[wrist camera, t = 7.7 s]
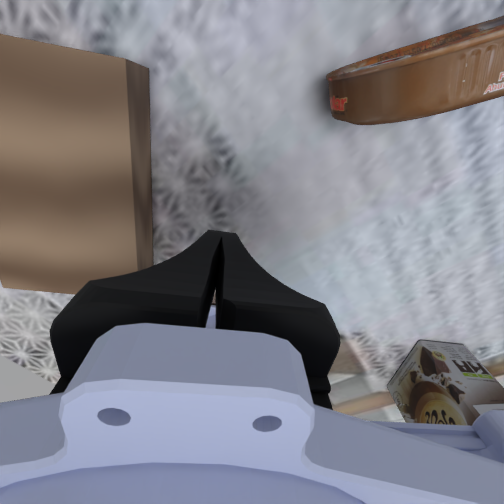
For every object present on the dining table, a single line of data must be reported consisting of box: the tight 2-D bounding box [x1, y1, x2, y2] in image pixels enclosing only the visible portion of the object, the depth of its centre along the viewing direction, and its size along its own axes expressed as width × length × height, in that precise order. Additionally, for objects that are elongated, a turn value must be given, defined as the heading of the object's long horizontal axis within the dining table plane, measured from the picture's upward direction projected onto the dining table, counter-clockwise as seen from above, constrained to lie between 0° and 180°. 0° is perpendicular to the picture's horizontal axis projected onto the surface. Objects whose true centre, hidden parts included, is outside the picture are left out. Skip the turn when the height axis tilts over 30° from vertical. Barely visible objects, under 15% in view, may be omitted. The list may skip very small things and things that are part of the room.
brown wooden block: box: [0, 34, 153, 294], centre depth 18 cm, size 16×10×4 cm, turn 171°
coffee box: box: [387, 340, 504, 426], centre depth 26 cm, size 9×6×16 cm
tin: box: [326, 16, 504, 125], centre depth 14 cm, size 15×3×8 cm, turn 105°
